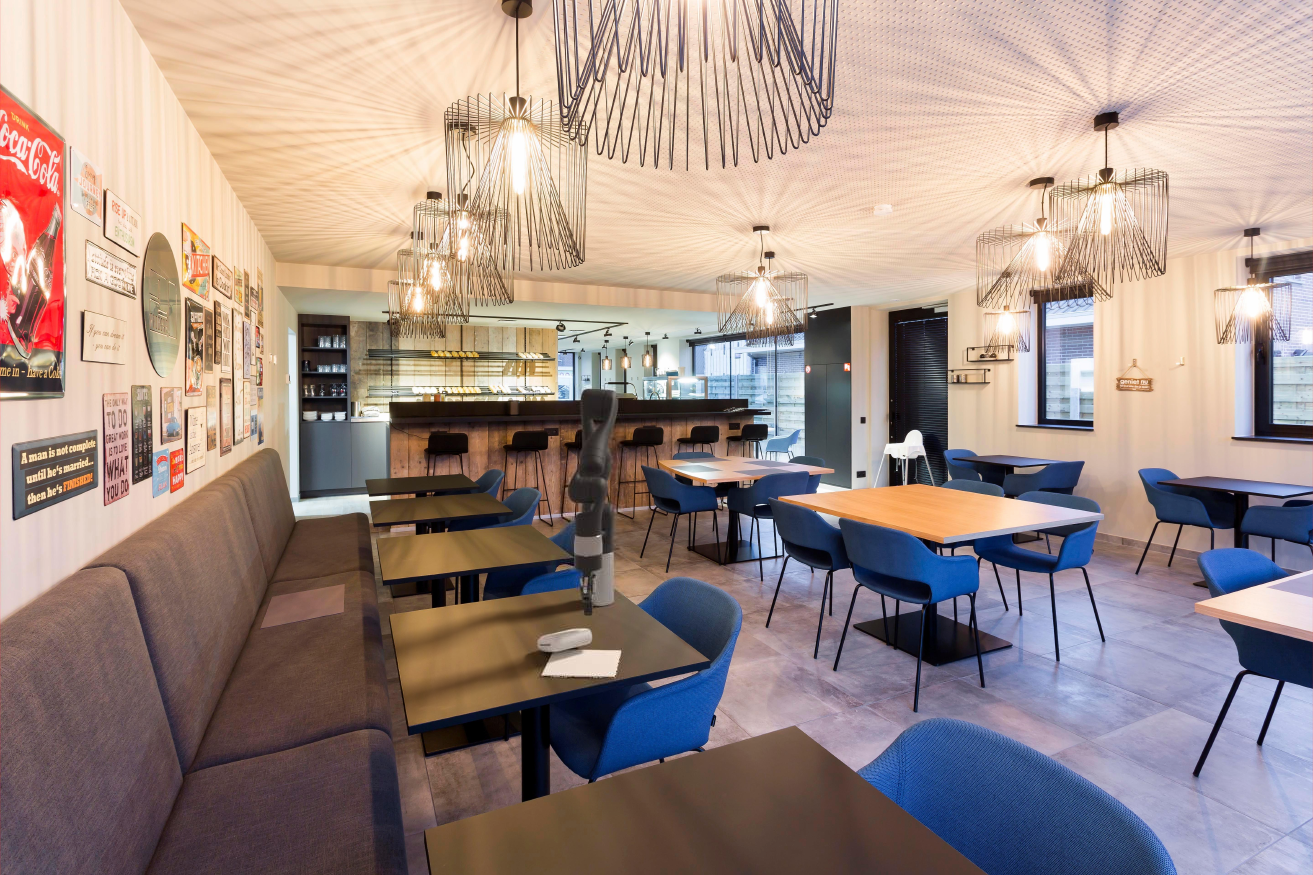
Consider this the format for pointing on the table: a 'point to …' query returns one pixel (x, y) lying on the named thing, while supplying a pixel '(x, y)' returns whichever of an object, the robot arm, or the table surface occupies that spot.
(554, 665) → the mat
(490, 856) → the table surface
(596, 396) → the robot arm
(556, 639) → the photo printer
